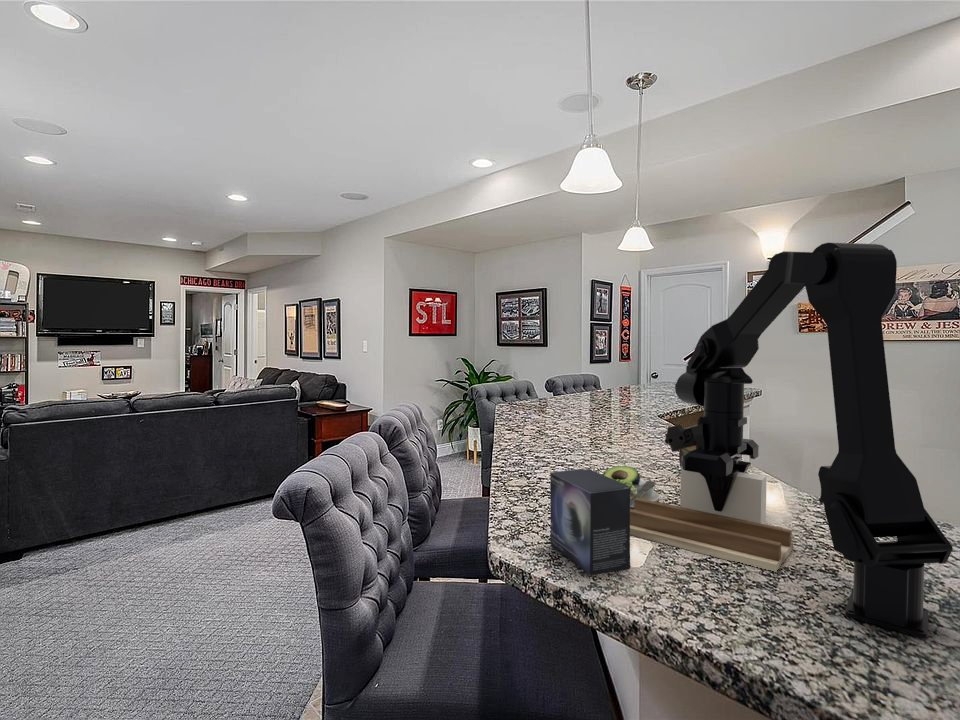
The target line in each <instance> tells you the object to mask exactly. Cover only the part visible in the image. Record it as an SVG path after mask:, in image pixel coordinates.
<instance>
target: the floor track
mask: <svg viewBox="0 0 960 720" xmlns="http://www.w3.org/2000/svg"><path fill="white" fill-rule="evenodd" d="M792 531H793V530H792V529H789V528H784V527H779V526H775V525H770V524H766V525H765V524H761V523H756V522H751V521H746V520H741V519H736V518H732V517H727V516H722V515H717V514H712V513H708V512H703V511H698V510H693V509H688V508H683V507H680V506H678V505H673V504H668V503H663V502H660V501H658V502H655V501H650V500H645V499H640V498H637V499H635V500H634V509H630V536H633V537H637V538H641V539H643V540H648V541H653V542H656V543H660V544H664V545H668V546H671V547H676V548H680V549H684V550H687V551H691V552H695V553H698V554H703V555H706V556H710V555H711V557H713V558H718V559H723V560H726V561H730V562H733V561H735V562H734V563H737V562H740V563H739V564H741V563H743V564H742V565H745V564H747V565H746V566H748V565H751V566H750V567H752V566H754V567H753V568H756V567H758V568H757V569H760V568H762V569H761V570H764V569H766V570H765V571H768V570H771V571H770V572H772V571H774V572H773V573H775V572H776V573H778V571H779V570H780V568H781V567H782V565H783V564H784V563H783V562H785V561H786V560H787V559H788V557H789V556H790V554H791V553H792V552H791V551H793V550H794V541H792V535H793V534H792V533H793V532H792ZM790 552H791V553H790ZM788 555H789V556H788ZM787 556H788V557H787ZM785 559H786V560H785ZM782 563H783V564H782ZM781 564H782V565H781ZM780 566H781V567H780ZM778 569H779V570H778ZM777 570H778V571H777Z"/></svg>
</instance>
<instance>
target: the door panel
mask: <svg viewBox="0 0 960 720" xmlns="http://www.w3.org/2000/svg"><path fill="white" fill-rule="evenodd" d="M767 478H768V477H767V476H766V475H761V474H754V473H747V472H746V473H742V472H738V474H737V477H736V479H735V482H734V484H733V487H732V489H731V491H730V494H729V496H728V499H727V501H726V504H725V506H724V508H723V510H722V511H721V512H720V511H715V510H714V507H713V503H712V500H711V496H710V493H709V489H708V486H707V483H706V480H705V478H704V477H703V476H702V475H701V474H700V473H698V472H691V471H685V470H683V467H681V468H680V494H679V495H680V497H679V499H680V500H679V501H680V502H679V503H680V504H679V505H680V506H679V507H683V508H688V509H693V510H698V511H703V512H708V513H712V514H717V515H722V516H727V517H732V518H736V519H741V520H746V521H751V522H756V523H761V524H765V525H767V523H766V522H767V519H766V518H767V480H768V479H767Z"/></svg>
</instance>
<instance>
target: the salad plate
mask: <svg viewBox="0 0 960 720" xmlns="http://www.w3.org/2000/svg"><path fill="white" fill-rule="evenodd" d="M602 475H604V476H606V477H609V478H611V479H613V480H616V481H618V482H620V483H623V484H625V485H628V486H630V487H631V495H630V509H633V510H634V500H635V499H637V498H640V499H645V500H650V501H655V502H660V498H661V496H660V494H658V493H657V491H655V490H654V489H653V488H654V487H655V485H656V482H655V481H653V480H647V481H643V480H641V477H640V473H639V472H638V470H637V469H636V468H635V467H632V466H629V465H621V466H620V465H619V466H612V467H610V468H608V469H606V470H605V471H604V470H603V474H602Z"/></svg>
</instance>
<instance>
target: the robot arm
mask: <svg viewBox="0 0 960 720" xmlns="http://www.w3.org/2000/svg"><path fill="white" fill-rule="evenodd" d="M897 262H898V261H897V258H896V255H895V253H894V252H893V250H892V249H889V248H888V247H886V246H884V245H883V244H877V243H856V242H855V243H851V242H825V243H821V244H820V245H818V246H817V247H815V248H814V250H813V251H812V252H810V251H789V250H788V251H781V252H778V253H775V254H774V255H772V257H771V259H770V261H769V264H768V266H767V267H768V268H767V269H766V270H765V272H764V273H763V274H762V276H761V277H760V278H759V279H758V281H757V282H756V283H755V284H754V286H753V287H752V289H750V290H749V292H748V293H747V295H746V296H745V297H744V298H743V299H742V301H741V302H740V304H739V305H737V307H736V308H735V310H734V311H733V312H732V313H731V314H730V315H729V316H728V317H727V318H726V319H724V320H722V321H719V322H717V323H715V324H712V325H711V326H710V327H709V328H708V329H707V330H706V331H704V332H703V333H702V335H700V337H699V339H698V342H697V344H696V346H695V348H694V350H693V352H692V355H691V356H690V358H689V359H688V361H687V363H686V364H687V365H686V367H685V369H686V371H685V372H684V373H682V374H681V375H680V376H679V377H678V379H676V383H675V386H674V390H675V394H676V396H677V398H678V399H679V400H680V401H682V402H684V403H686V404H690V405H695V406H700V407H703V415H702V416H699V417H698V418H697V425H693V426H688V427H683V426H682V425H681V424H676V425H672V426H668V427H667V429H666V433H664V437H665V439H664V443H665V444H666V445H669V447H670V450H671V452H672V453H673V452H679V449H682V448H687V447H691V446H696V449H695V450H692V451H690V452H688V453H687V454H686V455H685V456H684V457H683V470H685V471H691V472H698V473H700V474H701V475H702V476H703V477H704V478H705V480H706V483H707V486H708V489H709V493H710V496H711V500H712V503H713V507H714V510H715V511H720V512H721V511H722V510H723V508H724V506H725V504H726V501H727V499H728V496H729V494H730V491H731V489H732V487H733V484H734V482H735V479H736V477H737V474H738V472H742V473H747V472H748V470H749V468H750V466H751V464H752V463H751V462H750V461H743V460H742V455H743V456H749V458H750V459H751V460H755V459H757V458H758V457H759V447H760V446H759V445H758V443H757V442H755V440H754V439H749V438H744V425H747V424H748V417H746V416H744V411H745V407H744V406H745V405H744V404H745V401H744V400H745V385H752V384H753V381H754V380H753V379H752V378H751V376H750V375H749V374H748V373H746V372H745V370H744V369H743V368H746V367H747V366H748V365H749V364H750V362H751V361H752V360H753V359H754V357H755V355H756V354H757V353H758V350H759V349H760V347H759V339H760V336H762V334H764V332H765V331H766V330H767V329H768V328H769V326H770V325H772V323H773V322H775V320H776V319H777V317H778V316H780V314H782V312H783V311H784V310H785V309H786V308H787V307H788V306H789V305H790V304H791V303H792V302H793V300H794V299H795V298H796V297H797V295H799V294H800V292H802V290H803V289H805V290H806V295H807V299H808V302H809V304H810V305H811V306H812V307H813V309H814V310H815V311H816V313H817V314H818V316H819V317H820V318H821V319H822V320H823V322H824V323H825V325H826V330H827V337H828V339H827V341H828V350H829V359H830V360H829V361H830V362H829V363H830V373H831V380H832V391H833V402H834V403H833V405H834V414H835V415H834V416H835V424H836V434H837V446H838V452H837V454H836V456H835V458H834V459H833V462H832V463H831V465H821V466H820V467H819V471H818V474H817V475H818V478H819V479H818V480H819V483H820V484H819V485H820V497H819V503H820V504H823V508H824V513H825V517H826V521H827V525H828V530H829V533H830V538H831V542H832V545H833V549H834V551H836V552H838V553H839V554H842V556H843V559H845V560H846V561H850V562H853V590H851V592H850V595H849V599H848V601H847V604H846V606H845V608H844V615H845V616H846V617H848V618H852V619H856V620H858V621H862V622H866V623H869V624H873V625H875V626H878V627H879V626H880V627H882V628H886V629H889V630H892V631H897V632H900V633H904V634H908V635H911V636H915V637H917V638H922V639H927V638H928V636H929V635H928V633H929V613H930V612H929V610H928V609H926V607H925V608H924V595H925V594H924V589H925V564H926V565H927V564H939V565H940V564H941V565H942V564H943V565H944V564H947V562H948V561H949V558H950V555H951V554H952V553H953V552H952V551H953V545H952V544H951V542H950V541H949V539H948V538H947V537H946V535H944V533H943V532H942V530H941V529H940V528H939V526H938V525H937V524H936V522H935V520H933V518H932V516H931V515H930V514H929V513H928V511H927V510H926V508H925V506H924V502H923V499H922V495H921V491H920V487H919V485H918V480H917V478H916V477H915V476H914V473H912V471H911V470H910V469H909V467H908V466H907V465H906V464H905V462H904V461H903V459H901V457H900V456H899V455H898V453H897V449H896V443H895V442H896V441H895V434H894V433H895V432H894V423H893V415H892V407H891V398H890V397H891V396H890V388H889V387H890V386H889V381H888V380H889V379H888V371H887V370H888V369H887V362H886V361H887V360H886V350H885V343H884V342H885V341H884V333H883V326H882V325H883V324H882V322H883V321H882V319H883V317H884V315H885V313H886V312H887V310H888V308H889V306H890V304H891V303H892V301H893V299H894V298H895V295H896V289H897V288H896V287H897V269H898V267H897V265H898V263H897ZM739 455H741V456H739ZM893 537H894V538H895V537H896V539H897V540H895V541H893V540H891V541H889V540H888V541H877V540H876V538H893Z"/></svg>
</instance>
